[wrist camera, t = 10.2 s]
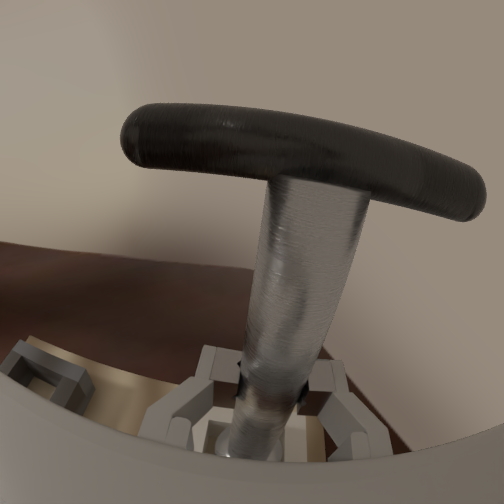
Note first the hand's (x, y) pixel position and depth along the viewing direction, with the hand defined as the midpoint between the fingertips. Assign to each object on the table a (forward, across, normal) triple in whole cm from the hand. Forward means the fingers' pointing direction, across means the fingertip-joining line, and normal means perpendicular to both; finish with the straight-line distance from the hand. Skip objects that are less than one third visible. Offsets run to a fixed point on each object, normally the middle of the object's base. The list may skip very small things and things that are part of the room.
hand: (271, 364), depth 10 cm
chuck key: (-1, 0, +10) cm, 10 cm away
